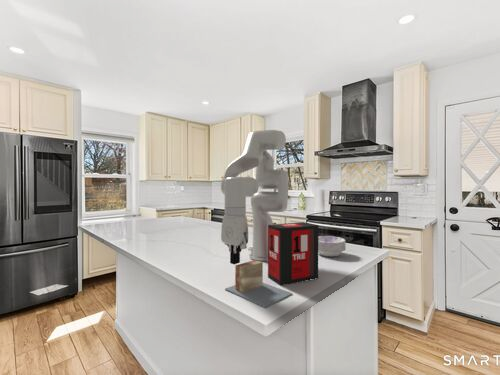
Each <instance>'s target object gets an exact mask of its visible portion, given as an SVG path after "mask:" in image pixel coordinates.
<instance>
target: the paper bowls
mask: <svg viewBox="0 0 500 375" xmlns="http://www.w3.org/2000/svg"><path fill="white" fill-rule="evenodd" d="M346 246H347V245H346V239H345V238H342V237H339V236H333V235H321V236H319V235H318V255H321V256H324V257H328V256H330V257H331V258H334V256H335V257H339V256H340V255H341V254H342V252H345V251H346ZM330 257H329V258H330Z"/></svg>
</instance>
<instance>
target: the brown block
mask: <svg viewBox="0 0 500 375" xmlns="http://www.w3.org/2000/svg"><path fill="white" fill-rule="evenodd" d="M263 262H264V261H258V260H253V259H251V260H249V261H246V262H243V263H240V264H239V263H238V264H234V265H235V267H234V268H235V269H234V270H235V274H234V275H235V283H234V285H235V290H238V291H240V292H242V293H245V292H248V291H250V290H253V289H255V288H257V287H260V286H262V285H263V283H264V281H263V280H264V279H263V276H264V275H263V272H264V270H263V268H264V267H263V266H264V265H263V264H264V263H263Z"/></svg>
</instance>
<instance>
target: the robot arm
mask: <svg viewBox="0 0 500 375" xmlns="http://www.w3.org/2000/svg"><path fill="white" fill-rule="evenodd" d="M286 143H287V137H286V134H285V132H284V131H282V130H277V129H267V130H265V129H264V130H262V129H261V130H253V131H251V132H249V133H248V135H247V136H246V140H245V144H244V147H243V149H242V153H241V155H240V156H239V157H237V158H236V159H235V160H233V161H232V162H231V163H229V165H228V166H227V167H226V168H225V170H224V173H223V176H222V179H221V182H220V184H221V185H220V190H221V193H222V194H223V195H224V215H223V216H222V219H221V221H222V222H221V230H220V231H221V232H220V240H221V242H222V243H223V244H224V245H225V246H227V248H228V251H229V260H230V261H229V262H230V263H229V264H230V265H238V264H239V263H240V264H241V252H242V250H245V249H247V250H248V251H250V254H249V255H248V256H249V259H250V260H256V261H260V262H266V261H267V262H268V225H273V219H272V217H271V215H270V214H269V213H270V212H271V213H284V212H285V211H286V210H287V209H288V204H289V203H288V201H289V175H288V174H289V173H288V172H287V171H286V170H285V169H281V168H279V169H274V168H275V166H274V165H275V161H274V158H273V156H272V155H271V154H270V152H268V151H272V150H274V151H275V150H276V151H278V150H279V151H280V150H283V149H284V148H285V146H286ZM253 169H256V170H255V177H251V176H239V175H241V174H242V173H245V172H247V171H250V170H253ZM259 189H262V191H259ZM263 190H277V191H263ZM249 197H250V205H251V207H250V208H251V211H252V212H251V213H252V214H251V215H252V245H249V247H248V246H247V244H248V243H249V224H248V223H249V222H248V218H247V213H246V211H247V210H246V209H247V208H246V207H247V206H246V205H247V203H246V202H247V200H246V198H249Z"/></svg>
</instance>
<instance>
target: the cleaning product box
mask: <svg viewBox="0 0 500 375" xmlns="http://www.w3.org/2000/svg"><path fill="white" fill-rule="evenodd" d="M318 237H319V225H318V224H314V223H309V222H303V221H301V222H300V221H299V222H291V223H290V222H288V223H277V224H276V223H274V224H273V225H268V261H267V278H268V279H269V280H271V281H273V282H274V283H275V284H276V285H279V286H281V287H282V286H287V284H288V285H292V283H293V284H297V282H298V283H301V282H302V281H303V282H307V281H306V280H308V281H311V280H310V279H314V280H316V279H315V278H318V279H319V252H318Z"/></svg>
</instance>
